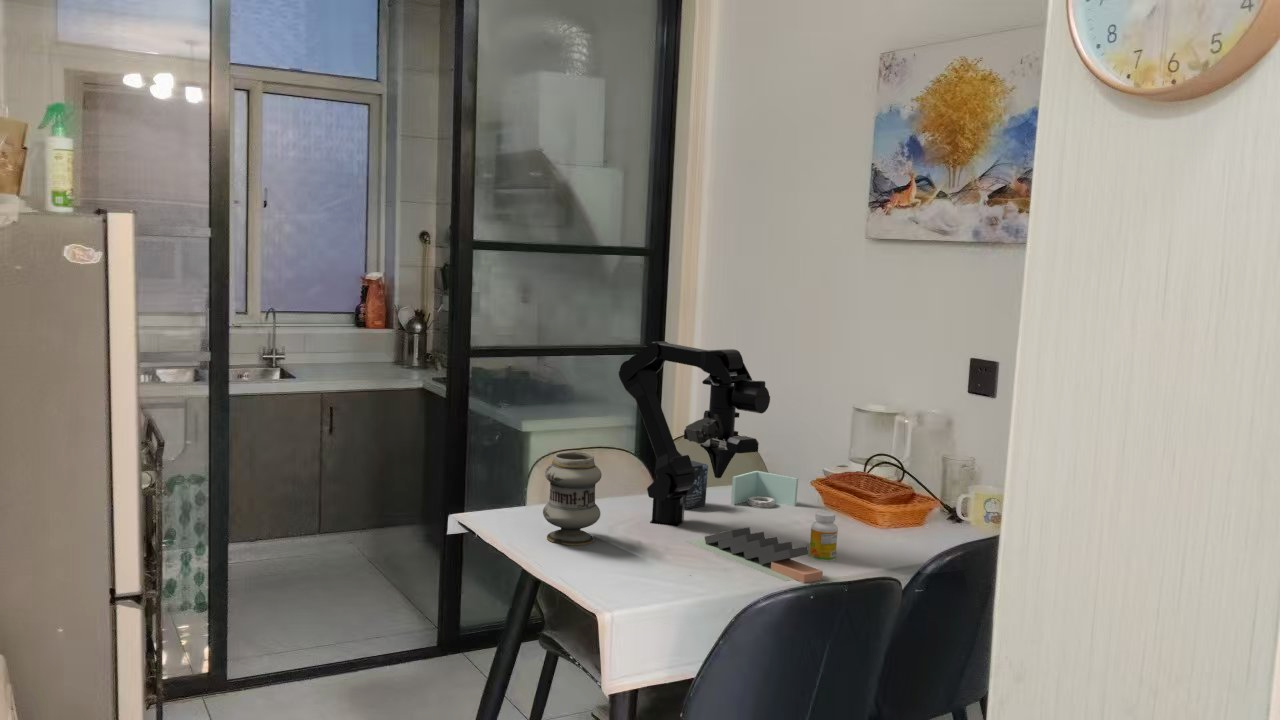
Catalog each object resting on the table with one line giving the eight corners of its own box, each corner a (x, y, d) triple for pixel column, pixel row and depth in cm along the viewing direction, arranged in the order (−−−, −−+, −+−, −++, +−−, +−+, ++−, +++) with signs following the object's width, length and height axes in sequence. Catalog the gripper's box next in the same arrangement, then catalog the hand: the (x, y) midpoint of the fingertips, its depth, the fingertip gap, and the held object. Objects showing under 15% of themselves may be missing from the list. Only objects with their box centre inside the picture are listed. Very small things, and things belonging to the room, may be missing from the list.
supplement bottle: (806, 555, 220) (809, 509, 219) (831, 555, 220) (834, 510, 219) (812, 562, 215) (816, 516, 214) (838, 563, 215) (841, 517, 214)
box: (684, 510, 253) (686, 467, 252) (667, 505, 257) (670, 462, 256) (706, 506, 258) (708, 463, 257) (689, 501, 262) (692, 459, 261)
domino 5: (758, 556, 209) (788, 549, 202) (776, 553, 212) (807, 546, 205) (759, 564, 209) (790, 557, 202) (778, 561, 211) (808, 554, 205)
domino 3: (730, 546, 216) (758, 539, 209) (748, 543, 219) (777, 536, 212) (731, 554, 215) (760, 547, 208) (749, 551, 218) (778, 544, 211)
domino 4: (743, 551, 212) (772, 544, 205) (761, 548, 215) (791, 541, 208) (745, 559, 212) (774, 552, 205) (763, 556, 215) (793, 549, 208)
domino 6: (771, 561, 206) (804, 574, 199) (789, 558, 209) (822, 571, 202) (770, 569, 206) (803, 582, 199) (789, 566, 209) (822, 579, 202)
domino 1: (704, 536, 222) (731, 529, 215) (722, 534, 225) (749, 527, 218) (705, 544, 222) (733, 537, 215) (723, 541, 225) (751, 534, 218)
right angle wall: (730, 506, 262) (732, 476, 261) (754, 499, 271) (756, 470, 271) (773, 515, 255) (775, 485, 254) (796, 507, 265) (798, 478, 264)
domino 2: (717, 541, 219) (745, 534, 212) (735, 538, 222) (763, 531, 215) (719, 549, 218) (747, 542, 211) (737, 546, 221) (765, 539, 214)
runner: (685, 543, 223) (685, 541, 223) (721, 538, 229) (721, 536, 229) (784, 583, 199) (785, 581, 199) (821, 576, 205) (822, 574, 205)
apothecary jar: (531, 541, 218) (535, 455, 216) (557, 528, 229) (561, 447, 228) (584, 550, 214) (589, 463, 212) (607, 536, 225) (612, 454, 223)
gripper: (666, 402, 230) (662, 472, 232) (722, 415, 216) (717, 490, 217) (705, 400, 237) (701, 468, 239) (762, 413, 222) (757, 485, 224)
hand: (717, 477), depth 229 cm, fingers closed
